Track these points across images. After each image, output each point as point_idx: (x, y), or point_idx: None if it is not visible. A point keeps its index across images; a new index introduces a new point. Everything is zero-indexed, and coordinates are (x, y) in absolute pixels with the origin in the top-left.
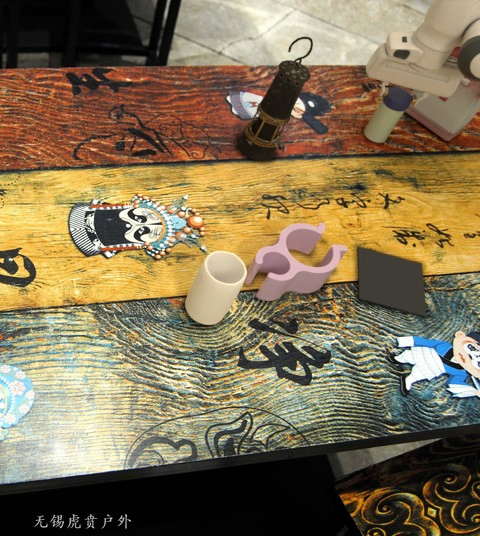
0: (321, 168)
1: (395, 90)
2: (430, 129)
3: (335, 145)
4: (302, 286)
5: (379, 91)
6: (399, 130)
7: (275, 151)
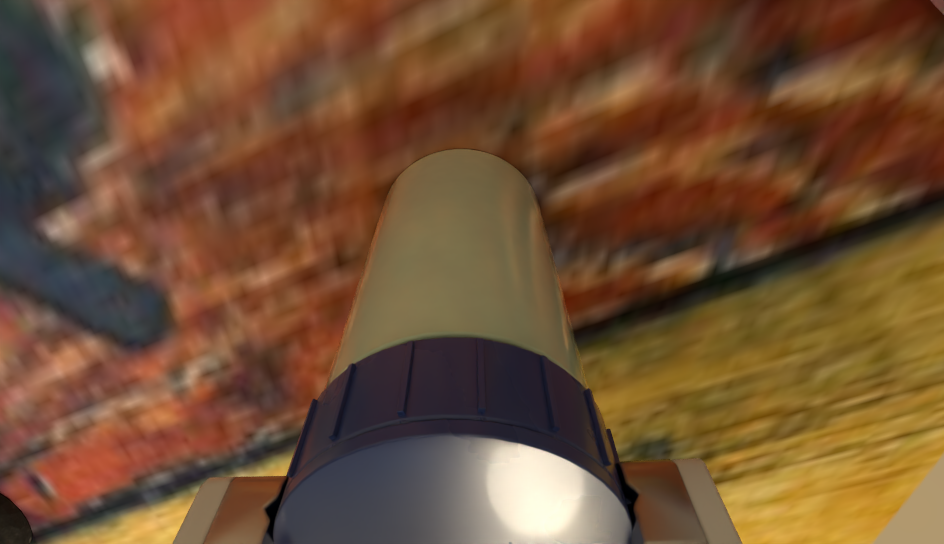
0: None
1: (386, 501)
2: (942, 12)
3: (250, 390)
4: None
5: (205, 484)
6: (651, 100)
7: (14, 533)
